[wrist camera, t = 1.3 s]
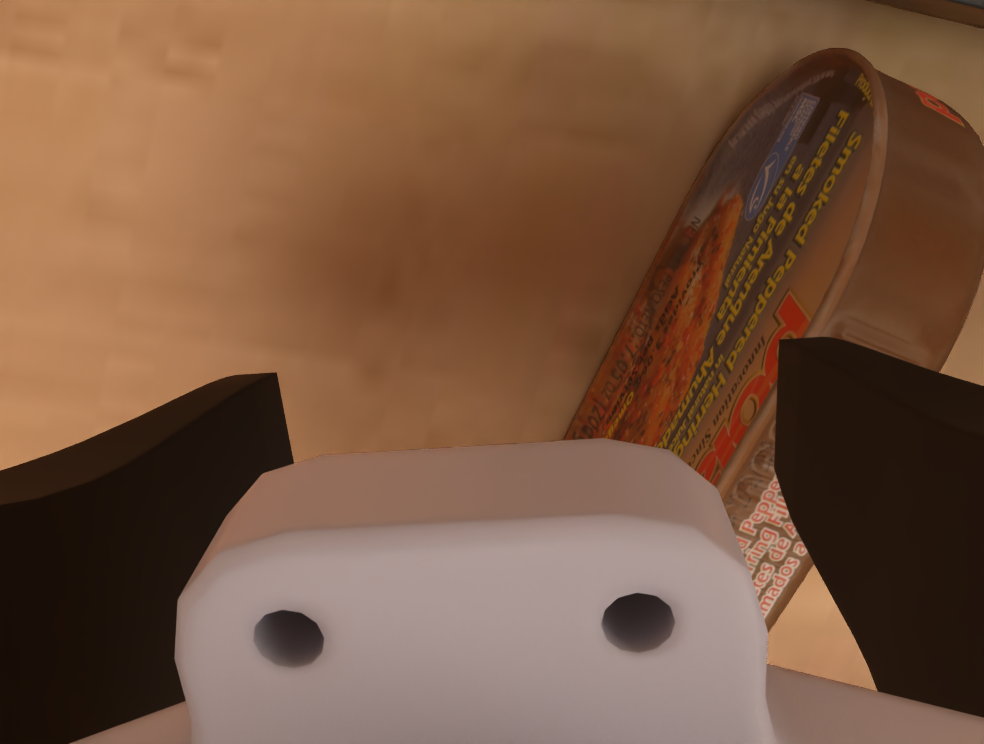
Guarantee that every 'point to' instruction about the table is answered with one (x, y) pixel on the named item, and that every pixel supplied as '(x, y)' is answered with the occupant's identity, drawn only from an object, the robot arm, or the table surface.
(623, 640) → the robot arm
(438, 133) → the table surface
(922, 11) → the bin
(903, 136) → the tin
